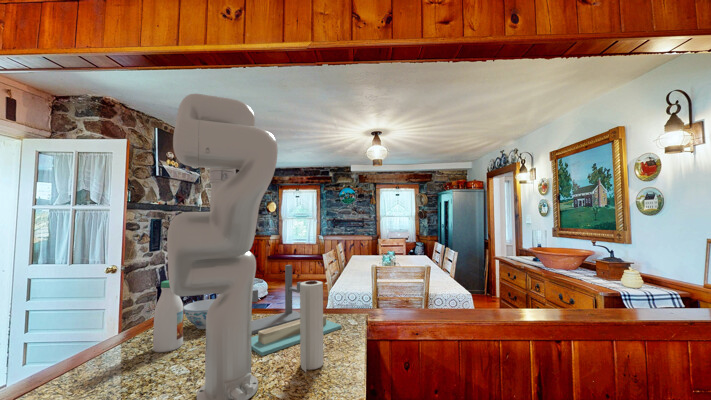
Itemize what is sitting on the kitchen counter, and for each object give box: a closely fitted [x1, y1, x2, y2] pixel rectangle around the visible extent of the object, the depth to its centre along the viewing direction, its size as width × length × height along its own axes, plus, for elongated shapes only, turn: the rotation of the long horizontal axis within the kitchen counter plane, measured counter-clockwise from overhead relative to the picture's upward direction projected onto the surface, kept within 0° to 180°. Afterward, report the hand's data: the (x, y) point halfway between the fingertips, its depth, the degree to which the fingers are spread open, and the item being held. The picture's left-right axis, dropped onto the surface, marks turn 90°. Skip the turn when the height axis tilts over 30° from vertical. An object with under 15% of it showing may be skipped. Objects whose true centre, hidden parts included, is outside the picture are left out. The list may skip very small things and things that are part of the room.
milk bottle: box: [152, 279, 184, 353], centre depth 93 cm, size 8×8×20 cm
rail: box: [257, 314, 327, 344], centre depth 100 cm, size 4×24×3 cm, turn 135°
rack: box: [252, 264, 303, 336], centre depth 113 cm, size 10×24×20 cm, turn 135°
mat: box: [251, 319, 342, 357], centre depth 100 cm, size 13×30×1 cm, turn 135°
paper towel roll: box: [299, 280, 324, 373], centre depth 80 cm, size 7×6×21 cm
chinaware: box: [183, 298, 216, 330], centre depth 111 cm, size 15×15×8 cm
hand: (221, 233), depth 93 cm, fingers open, 9 cm apart
